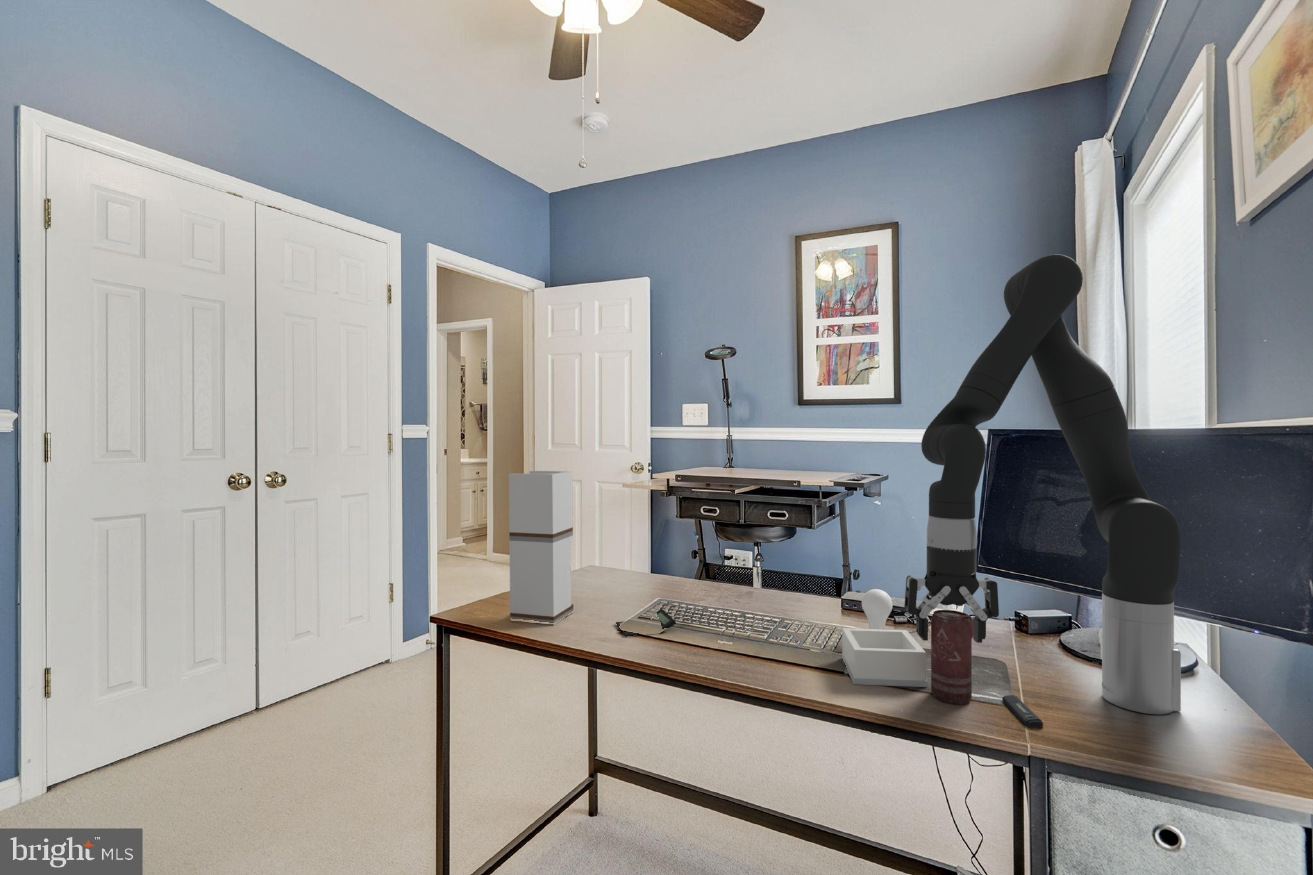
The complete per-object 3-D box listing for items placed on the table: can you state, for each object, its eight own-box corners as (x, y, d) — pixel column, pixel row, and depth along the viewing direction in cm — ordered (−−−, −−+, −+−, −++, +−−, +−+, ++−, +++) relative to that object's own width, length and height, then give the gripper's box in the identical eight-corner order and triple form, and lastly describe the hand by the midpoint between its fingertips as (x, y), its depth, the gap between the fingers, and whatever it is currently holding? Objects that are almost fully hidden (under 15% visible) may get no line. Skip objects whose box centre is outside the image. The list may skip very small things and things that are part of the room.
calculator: (615, 625, 143) (615, 612, 143) (663, 620, 147) (663, 608, 147) (625, 638, 134) (625, 624, 134) (676, 633, 138) (676, 619, 138)
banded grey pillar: (573, 612, 153) (572, 471, 153) (553, 625, 143) (552, 474, 143) (532, 608, 156) (531, 470, 156) (510, 621, 146) (508, 473, 146)
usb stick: (1000, 702, 102) (1000, 693, 102) (1018, 703, 102) (1017, 694, 102) (1026, 729, 93) (1026, 719, 93) (1045, 730, 92) (1045, 720, 92)
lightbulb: (863, 645, 128) (862, 592, 128) (860, 635, 134) (860, 585, 134) (894, 647, 127) (894, 594, 127) (890, 637, 133) (890, 586, 133)
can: (978, 706, 100) (978, 620, 99) (936, 703, 101) (935, 618, 101) (967, 691, 105) (967, 609, 105) (927, 688, 107) (927, 607, 107)
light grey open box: (907, 660, 120) (907, 629, 119) (927, 687, 107) (927, 652, 107) (841, 658, 121) (841, 627, 121) (853, 684, 109) (853, 650, 109)
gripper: (987, 540, 106) (986, 634, 106) (900, 538, 108) (900, 631, 108) (1006, 549, 98) (1005, 650, 99) (913, 546, 100) (912, 646, 101)
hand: (950, 640), depth 103 cm, fingers open, 8 cm apart
